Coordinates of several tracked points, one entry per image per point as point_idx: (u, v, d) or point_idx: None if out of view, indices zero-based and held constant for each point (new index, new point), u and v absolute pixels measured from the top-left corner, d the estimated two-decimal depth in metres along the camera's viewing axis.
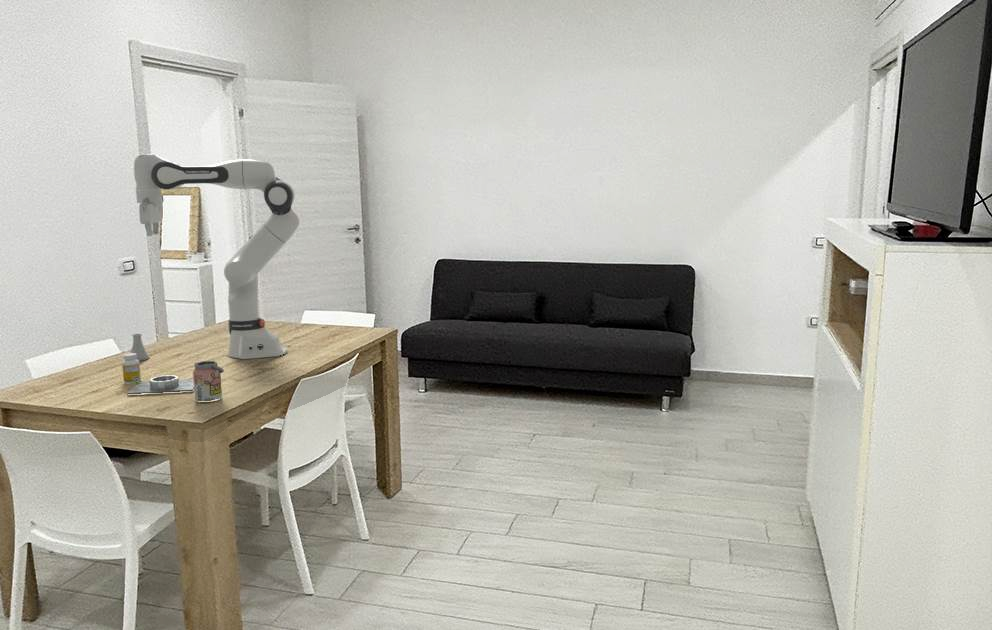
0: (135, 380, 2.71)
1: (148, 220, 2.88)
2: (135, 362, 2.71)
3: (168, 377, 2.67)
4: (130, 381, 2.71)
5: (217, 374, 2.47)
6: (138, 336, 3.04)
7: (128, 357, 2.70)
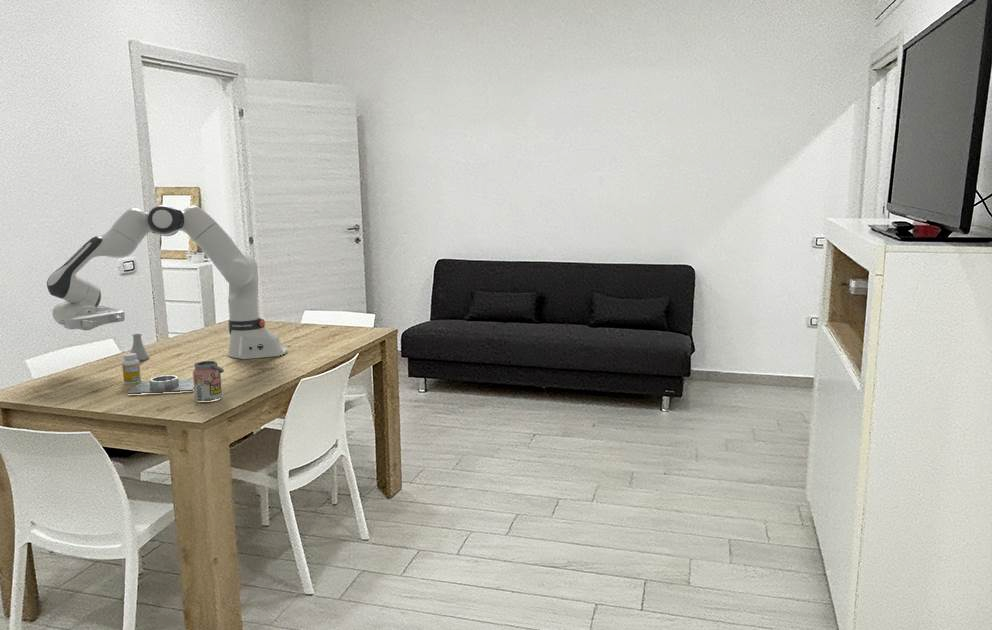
0: (135, 380, 2.71)
1: (69, 321, 2.71)
2: (135, 362, 2.71)
3: (168, 377, 2.67)
4: (130, 381, 2.71)
5: (217, 374, 2.47)
6: (138, 336, 3.04)
7: (128, 357, 2.70)
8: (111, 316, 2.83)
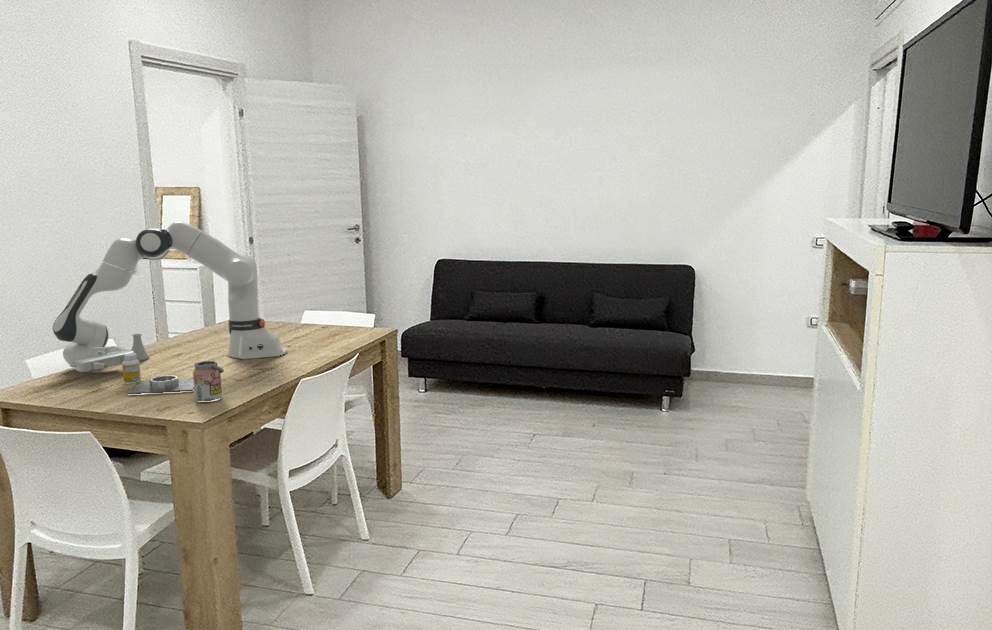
0: (135, 380, 2.71)
1: (80, 364, 2.72)
2: (135, 362, 2.71)
3: (168, 377, 2.67)
4: (130, 381, 2.71)
5: (217, 374, 2.47)
6: (138, 336, 3.04)
7: (128, 357, 2.70)
8: (122, 357, 2.84)
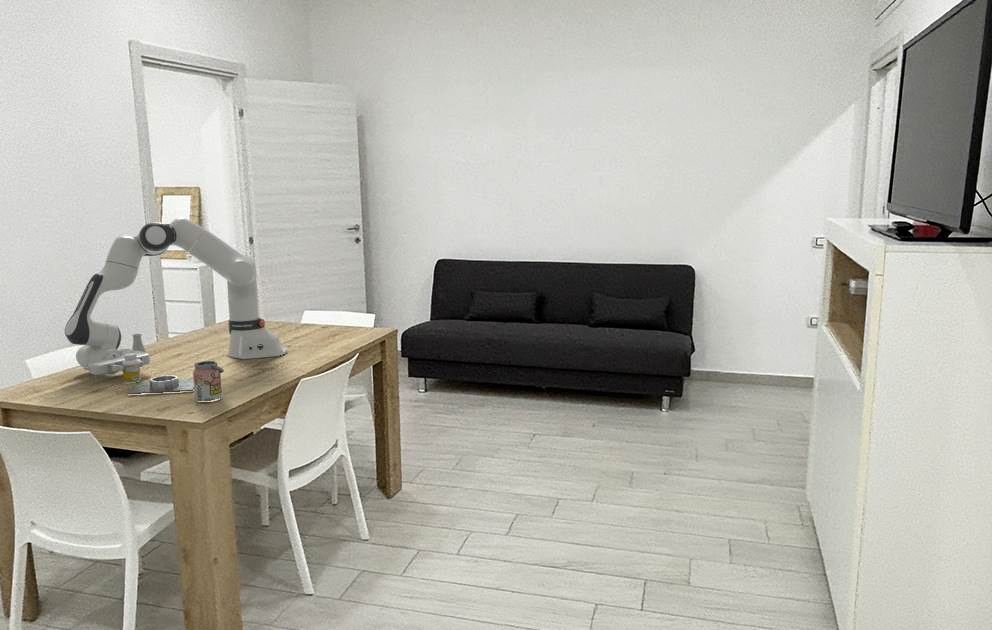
0: (135, 380, 2.71)
1: (94, 366, 2.67)
2: (135, 362, 2.71)
3: (168, 377, 2.67)
4: (130, 381, 2.71)
5: (217, 374, 2.47)
6: (138, 336, 3.04)
7: (128, 357, 2.70)
8: None
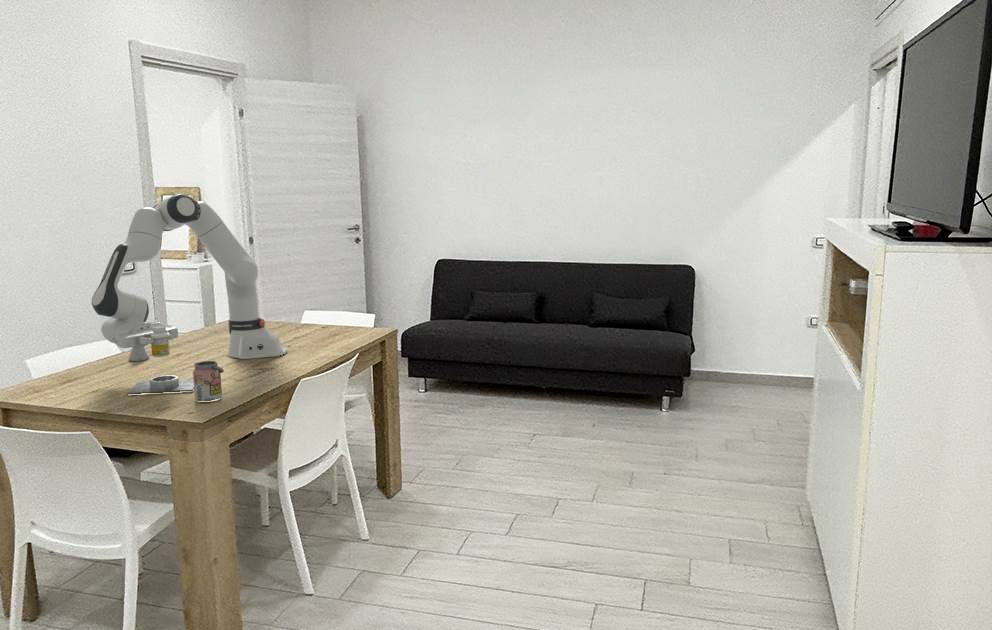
0: (164, 354, 2.60)
1: (122, 339, 2.56)
2: (164, 335, 2.60)
3: (168, 377, 2.67)
4: (159, 355, 2.60)
5: (217, 374, 2.47)
6: None
7: (157, 329, 2.59)
8: None
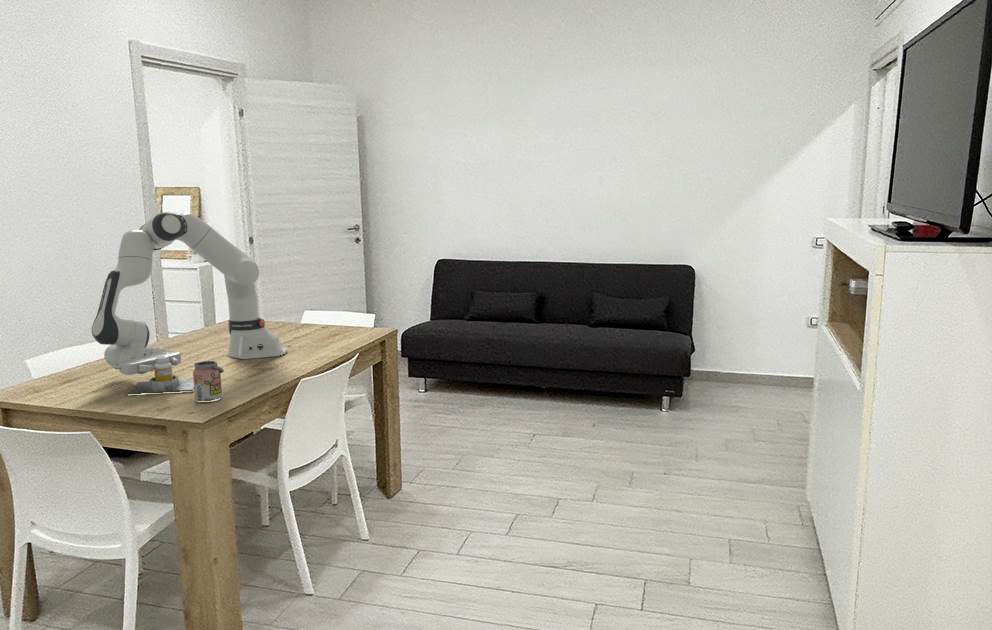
0: None
1: (125, 366, 2.57)
2: (167, 365, 2.62)
3: None
4: None
5: (217, 374, 2.47)
6: None
7: (160, 360, 2.61)
8: None
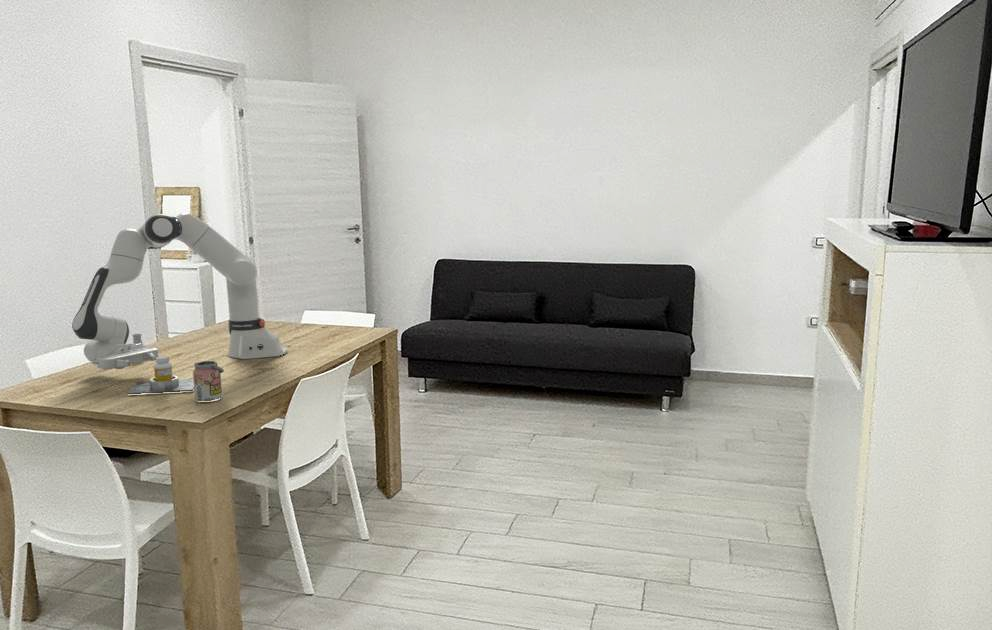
0: None
1: (103, 361, 2.64)
2: (167, 365, 2.62)
3: None
4: None
5: (217, 374, 2.47)
6: (138, 336, 3.04)
7: (160, 360, 2.61)
8: (145, 354, 2.76)
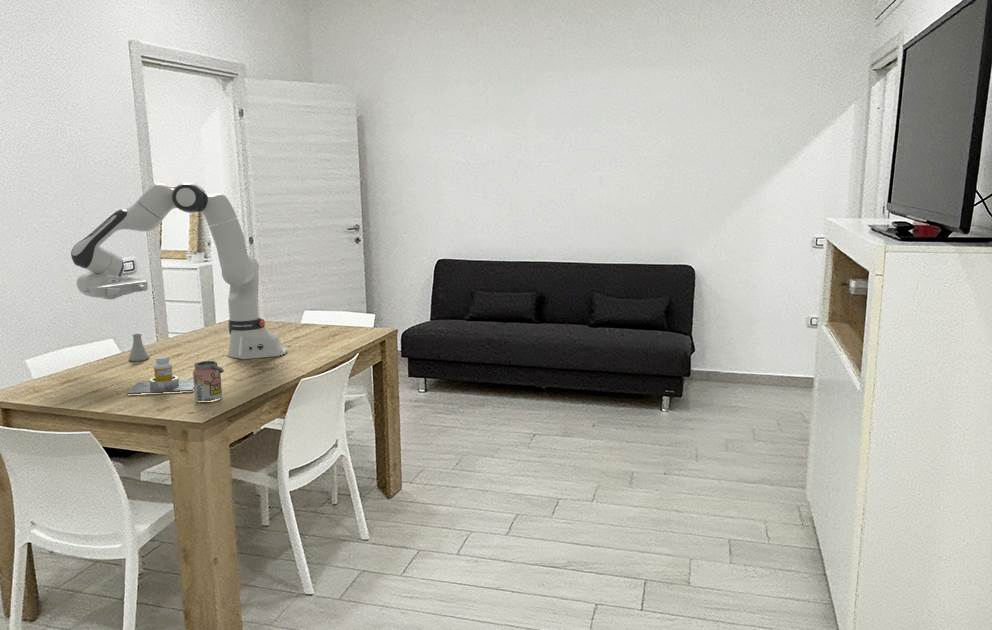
0: None
1: (94, 288, 2.76)
2: (167, 365, 2.62)
3: None
4: None
5: (217, 374, 2.47)
6: (138, 336, 3.04)
7: (160, 360, 2.61)
8: (135, 285, 2.88)
